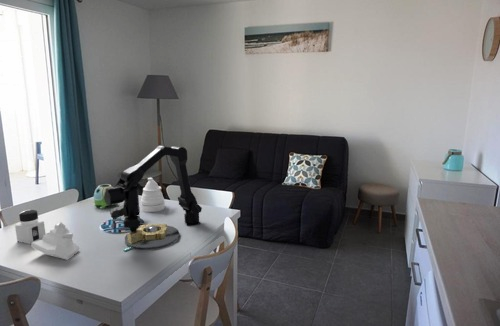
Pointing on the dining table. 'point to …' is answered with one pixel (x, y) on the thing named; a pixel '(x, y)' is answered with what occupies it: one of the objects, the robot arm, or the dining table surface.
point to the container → (29, 227)
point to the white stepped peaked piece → (57, 243)
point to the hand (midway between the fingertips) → (133, 234)
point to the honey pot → (152, 197)
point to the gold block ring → (143, 235)
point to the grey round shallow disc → (154, 244)
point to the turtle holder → (101, 195)
